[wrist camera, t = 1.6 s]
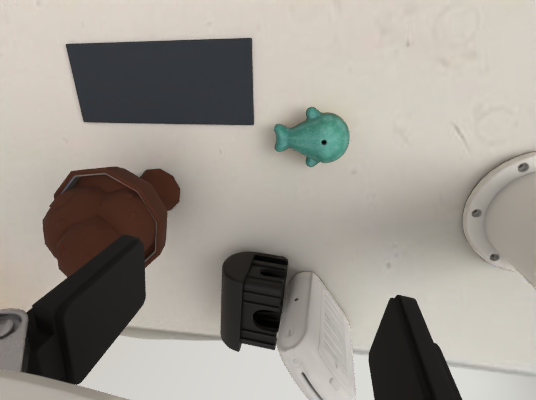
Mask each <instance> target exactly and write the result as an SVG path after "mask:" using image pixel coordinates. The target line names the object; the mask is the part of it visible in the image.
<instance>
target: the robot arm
mask: <svg viewBox="0 0 536 400" xmlns="http://www.w3.org/2000/svg"><path fill="white" fill-rule="evenodd" d="M519 165H520V166H519ZM518 166H519V167H518ZM474 210H475V211H474ZM462 223H463V229H464V234H465V236H466V238H467V241H468V242H469V244H470V245H471V246H472V248H473V249H474V250H475V251H476V252H477V253H478V255H479V256H480V257H481V258H483V259H484V260H486V261H487V262H488V263H490V264H492V265H495V266H497V267H499V268H502V269H506V270H510V271H516V272H519V273H520V274H521V275H522V276H523V277H524V278H525V279H526V280H527V281H528V282H529V283H530V284H531V285H532V286H533V287H534V288H535V289H536V152H531V153H528V154H524V155H521V156H518V157H516V158H513V159H511V160H509V161H507V162H505V163H503V164H501V165H500V166H498V167H497V168H495V169H494V170H492V171H491V172H490V173H489V174H487V175H486V176H485V177H484V178H483V179H482V180H481V181H480V182H479V183H478V184H477V186H476V187H475V188H474V189H473V191H472V193H471V194H470V196H469V198H468V200H467V202H466V205H465V208H464V211H463V222H462ZM145 297H146V292H145V259H144V243H143V242H141V240H140V238H138V237H134V236H130V235H122V236H121V237H119V238H118V239H117V240H115V241H114V242H113V243H112V244H110V245H109V246H108V247H106V248H105V249H104V250H103V251H101V252H100V253H99V254H97V255H96V256H95V257H94V258H92V259H91V260H90V261H88V262H87V263H86V264H85V265H83V266H82V267H81V268H79V269H78V270H77V271H76V272H74V273H73V274H72V275H70V276H69V277H68V278H67V279H65V280H64V281H63V282H61V283H60V284H59V285H58V286H56V287H55V288H54V289H52V290H51V291H50V292H49V293H47V294H46V295H45V296H44V297H42V298H41V299H40V300H38V301H37V302H36V303H35V304H33V305H32V307H33V308H32V309H30V310H29V311H28V312H27V313H26V312H25V311H23V310H20V309H11V308H10V309H2V310H0V400H129V399H125V398H121V397H118V396H114V395H111V394H107V393H104V392H100V391H96V390H92V389H89V388H85V387H81V386H78V385H77V384H79V383H81V382H82V381H83V380H84V378H85V377H86V376H87V375H88V373H89V372H90V371H91V369H92V368H93V367H94V366H95V364H96V363H97V362H98V361H99V360H100V358H101V357H102V356H103V354H104V353H105V352H106V351H107V349H108V348H109V347H110V346H111V344H112V343H113V342H114V341H115V339H116V338H117V337H118V336H119V335H120V333H121V332H122V331H123V330H124V328H125V327H126V326H127V325H128V323H129V322H130V321H131V319H132V318H133V317H134V316H135V314H136V313H137V312H138V311H139V309H140V308H141V307H142V306H143V304H144V301H145ZM369 366H370V373H371V379H372V385H373V391H374V398H375V400H462V398H461V396H460V394H459V391H458V389H457V386H456V384H455V382H454V379H453V377H452V375H451V372H450V370H449V368H448V365H447V363H446V361H445V358H444V356H443V354H442V351H441V349H440V347H439V346H438V345H437V344H436V343H434V342H433V340H432V338H431V335H430V333H429V330H428V328H427V325H426V323H425V321H424V318H423V316H422V313H421V311H420V309H419V306H418V304H417V301H416V300H415V299H414V298H410V297H405V296H401V295H397V296H396V297H395V298H390V300H389V302H388V305H387V307H386V310H385V312H384V315H383V318H382V320H381V323H380V325H379V328H378V331H377V333H376V336H375V339H374V341H373V344H372V346H371V349H370V352H369ZM75 384H76V385H75Z"/></svg>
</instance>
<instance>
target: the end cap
mask: <svg viewBox="0 0 536 400" xmlns="http://www.w3.org/2000/svg"><path fill="white" fill-rule="evenodd" d="M287 267H288V260H287V259H286V258H285V257H280V256H275V255H269V254H263V253H255V252H241V253H237V254H234V255H232V256H230V257H228V258H227V259H226V260H225V262H224V263H223V266H222V294H221V338H222V340H223V342H224V343H225V344H226V345H227V346H228V347H229V348H231V349H233V350H235V351H238V352H239V350H240V347H241V344H242V343H244V344H248V345H253V346H258V347H263V348H267V349H272V350H275V346H276V341H277V338H276V336H277V332H278V330H279V325H280V319H281V314H282V307H283V299H284V291H285V283H286V275H287Z"/></svg>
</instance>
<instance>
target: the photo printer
mask: <svg viewBox="0 0 536 400" xmlns="http://www.w3.org/2000/svg"><path fill="white" fill-rule="evenodd" d="M277 348H278V351H279V354H280V356H281V359H282V361H283V363H284V365H285V366H286V368H287V370H288V372H289V373H290V375H291V377H292V378H293V380H294V381H295V383H296V384H297V386H298V387H299V388H300V389H301V391H302V392H303V393H304V395H305V396H306V397H307V398H308V399H309V400H356V388H355V376H354V363H353V352H352V339H351V329H350V325H349V323H348V320H347V318H346V317H345V315H344V313H343V312H342V310H341V309H340V307H339V306H338V304H337V303H336V301H335V300H334V298H333V297H332V295H331V294H330V293H329V291H328V290H327V288H326V287H325V285H324V284H323V283H322V281H321V280H320V279H319V278H318V277H317V275H316V274H314V273H310V272H301V273H298V274H297V275H295V276H294V277H293V279H292V281H291V282H289V285H288V288H287V292H286V297H285V302H284V307H283V312H282V317H281V321H280V326H279V332H278V336H277Z"/></svg>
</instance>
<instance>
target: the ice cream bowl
mask: <svg viewBox="0 0 536 400" xmlns="http://www.w3.org/2000/svg"><path fill="white" fill-rule="evenodd" d="M179 197H180V188H179V186H178V184H177V183H176V181H175V179H174V177H173V176H172V175H170V174H168V173H166V172H165V171H163V170H161V169H151V170H146V171H145V173H144V174H143V175H142V176H141V177H138V176H136V175H134V174H133V173H131V172H129V171H127V170H126V169H123V168H119V167H107V168H96V169H85V170H77V171H71V172H70V173H69V175H68V176H67V178H66V179H65V180H64V182H63V183H62V184H61V186H60V187H59V188H58V190H57V191H56V192H55V194H54V201H53V202H52V204H51V205H50V207H51V208H50V209H49V211H48V212H47V214H46V216H45V217H44V219H43V232H44V239H45V244H46V246H47V247H48V249H49V250H50V251H51V253H52V254H53V256H54V257H55V258H57V260H58V266H59V269H60V270H61V271H62V272H63V273H64V274H65V275H66V276H67V277H69V276H70V275H72V274H73V273H74V272H76V271H77V270H78V269H79V268H81V267H82V266H83V265H85V264H86V263H87V262H88V261H90V260H91V259H92V258H94V257H95V256H96V255H97V254H99V253H100V252H101V251H103V250H104V249H105V248H106V247H108V246H109V245H110V244H112V243H113V242H114V241H115V240H117V239H118V238H119V237H121V236H122V235H130V236H134V237H138V238H140V240H141V242H143V243H144V259H145V268H146V267H147V266H148V265H149V264H150V263H151V262H152V261H153V260H154V259H156V258H157V257H158V256H159V255H160V253H161V252H162V250H163V248H164V246H165V241H166V229H167V211H169V210H171V209H172V208H173V207H174V206H175V205H176V204H177V203H178V202H179Z"/></svg>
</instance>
